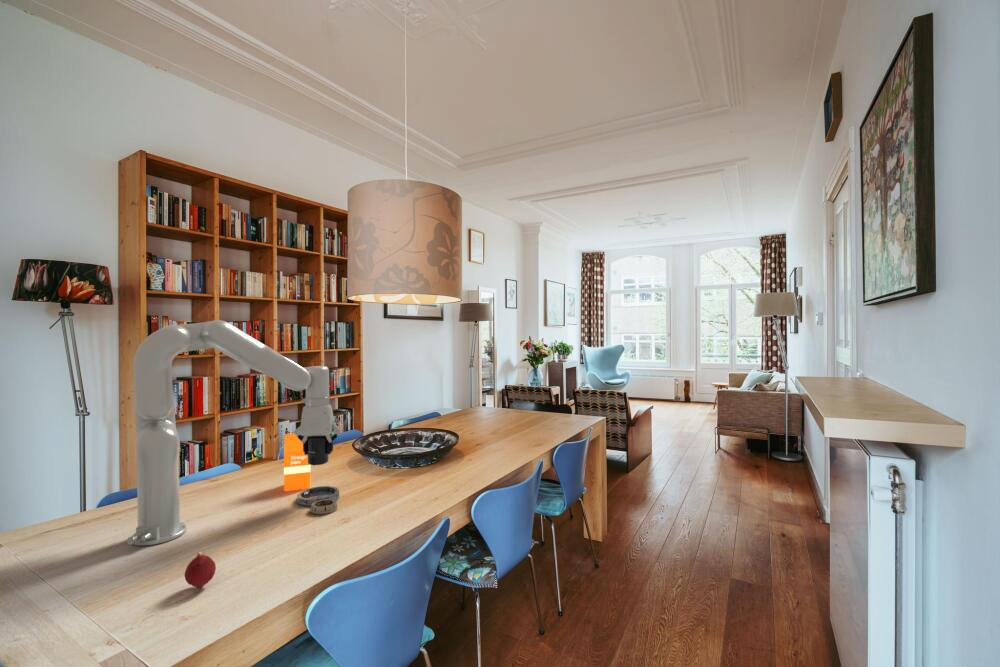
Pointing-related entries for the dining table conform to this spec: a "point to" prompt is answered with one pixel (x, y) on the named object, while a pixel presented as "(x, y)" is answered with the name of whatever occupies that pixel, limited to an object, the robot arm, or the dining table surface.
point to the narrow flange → (324, 507)
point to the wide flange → (317, 495)
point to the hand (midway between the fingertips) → (318, 453)
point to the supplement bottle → (317, 450)
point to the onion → (200, 570)
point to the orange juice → (295, 464)
